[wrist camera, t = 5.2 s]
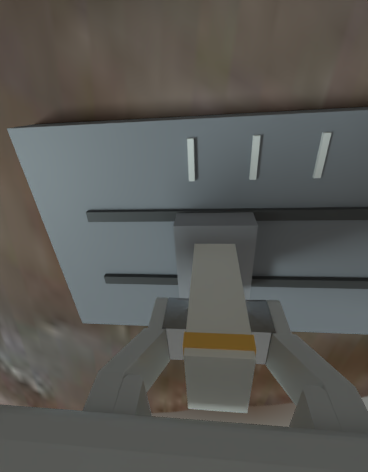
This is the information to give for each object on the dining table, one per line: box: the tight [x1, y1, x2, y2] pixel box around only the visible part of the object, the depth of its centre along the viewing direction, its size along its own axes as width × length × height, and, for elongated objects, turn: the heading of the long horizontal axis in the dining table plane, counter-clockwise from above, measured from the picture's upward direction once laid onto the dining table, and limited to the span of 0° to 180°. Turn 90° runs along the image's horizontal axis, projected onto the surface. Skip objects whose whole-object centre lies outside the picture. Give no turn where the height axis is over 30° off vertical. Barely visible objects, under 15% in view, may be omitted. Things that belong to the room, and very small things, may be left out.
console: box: [7, 107, 368, 334], centre depth 14 cm, size 14×30×2 cm, turn 93°
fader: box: [173, 212, 258, 413], centre depth 11 cm, size 5×4×8 cm
